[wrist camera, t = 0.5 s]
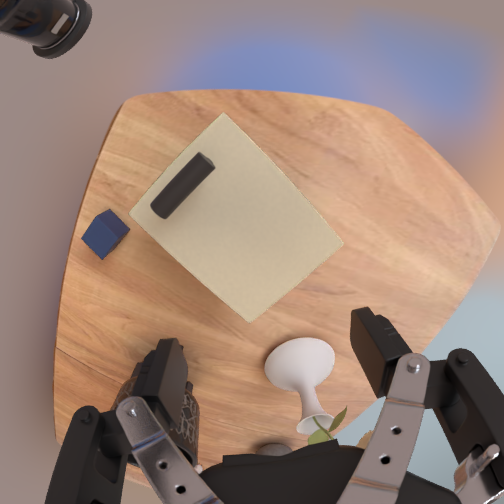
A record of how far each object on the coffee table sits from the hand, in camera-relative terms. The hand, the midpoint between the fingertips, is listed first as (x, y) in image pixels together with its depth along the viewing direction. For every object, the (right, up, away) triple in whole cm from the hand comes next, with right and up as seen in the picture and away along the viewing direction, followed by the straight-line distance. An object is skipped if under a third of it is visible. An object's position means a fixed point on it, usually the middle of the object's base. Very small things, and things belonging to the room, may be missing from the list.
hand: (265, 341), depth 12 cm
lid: (-2, +6, +14) cm, 15 cm away
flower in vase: (+7, -13, +31) cm, 34 cm away
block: (-19, +7, +22) cm, 30 cm away
